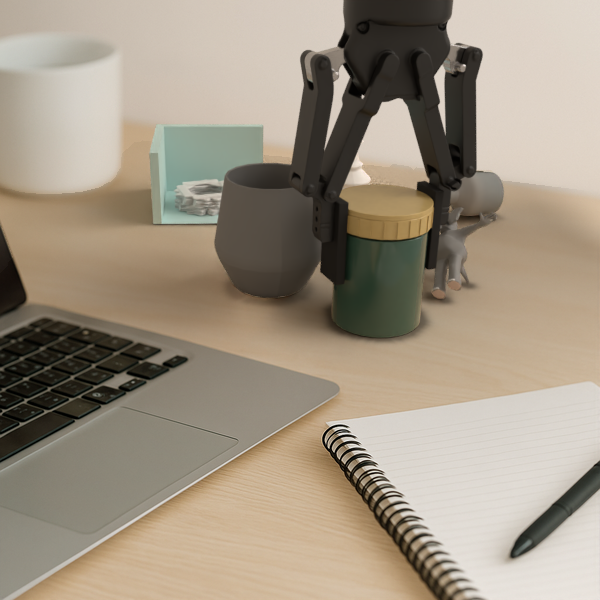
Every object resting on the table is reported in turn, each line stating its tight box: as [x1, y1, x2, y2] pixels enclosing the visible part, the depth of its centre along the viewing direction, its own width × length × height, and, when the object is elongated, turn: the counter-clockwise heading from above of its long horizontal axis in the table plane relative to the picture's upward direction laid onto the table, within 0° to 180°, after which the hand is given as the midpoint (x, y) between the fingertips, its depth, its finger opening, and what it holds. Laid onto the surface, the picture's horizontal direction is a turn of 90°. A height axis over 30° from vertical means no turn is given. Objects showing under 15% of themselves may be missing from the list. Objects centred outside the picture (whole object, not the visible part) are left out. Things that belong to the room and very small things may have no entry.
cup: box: [213, 162, 321, 299], centre depth 70 cm, size 10×9×10 cm
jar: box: [330, 232, 428, 339], centre depth 65 cm, size 7×7×10 cm
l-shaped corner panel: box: [148, 123, 264, 225], centre depth 90 cm, size 12×12×8 cm
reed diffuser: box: [450, 169, 505, 217], centre depth 86 cm, size 10×7×20 cm
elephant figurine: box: [430, 207, 498, 300], centre depth 73 cm, size 10×6×9 cm
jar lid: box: [339, 183, 434, 240], centre depth 64 cm, size 8×8×2 cm
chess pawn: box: [343, 139, 372, 189], centre depth 95 cm, size 5×5×9 cm
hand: (378, 269), depth 66 cm, fingers closed on jar lid, 7 cm apart
